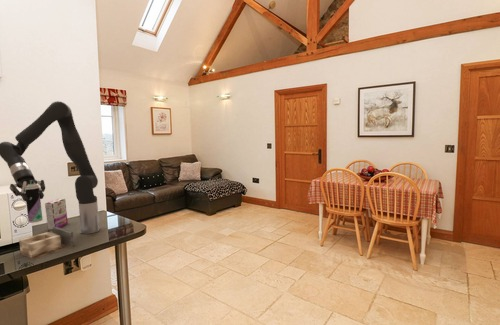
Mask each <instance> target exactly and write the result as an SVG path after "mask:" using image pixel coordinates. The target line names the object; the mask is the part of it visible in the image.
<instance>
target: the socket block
mask: <svg viewBox="0 0 500 325" xmlns="http://www.w3.org/2000/svg"><path fill="white" fill-rule="evenodd" d="M18 243H19V249H20V250H19V251H20V252H21V253H23V254H26V255H28V256H30V257H35V256H38V255H41V254H44V253H47V252H50V251H53V250H56V249H59V248H61V238H60V236H59V235H56V234H53V232H51V231H45V232H42V233H39V234H35V235H32V236H28V237H25V238H21V239H19V240H18ZM21 253H20V254H21ZM23 254H22V255H23Z"/></svg>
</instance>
